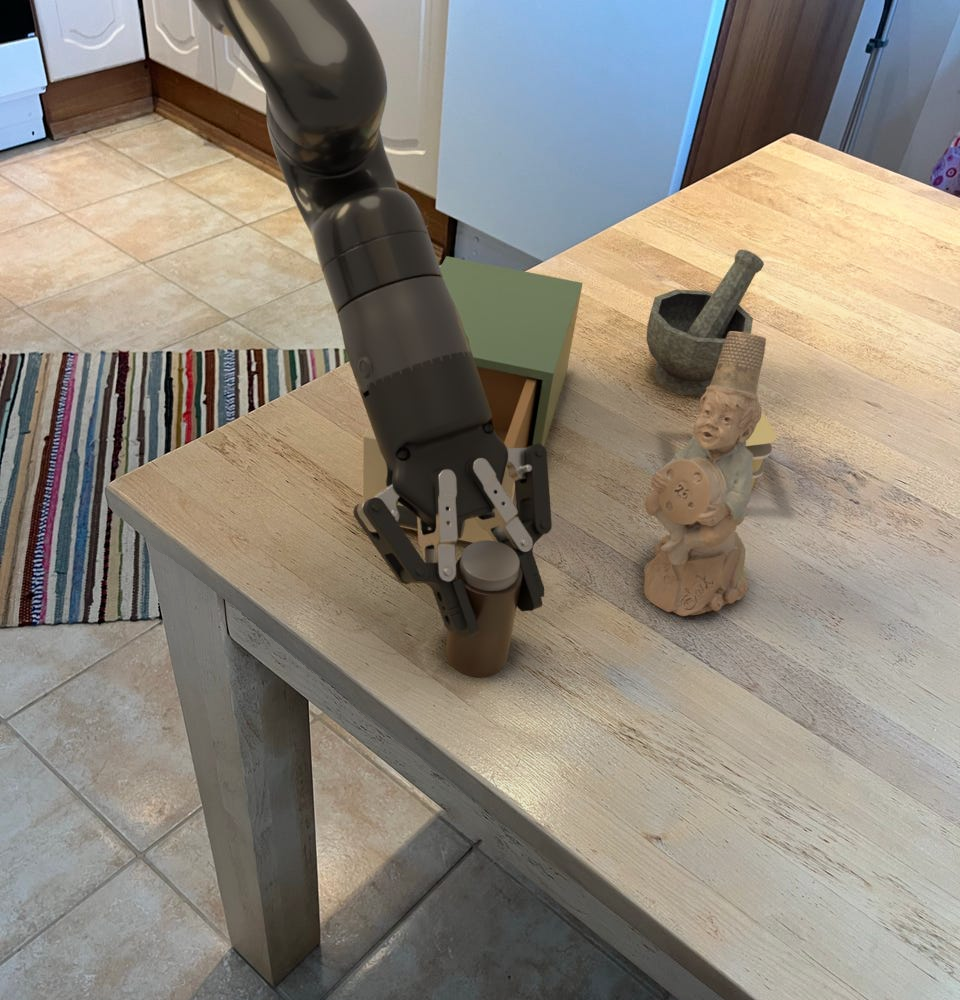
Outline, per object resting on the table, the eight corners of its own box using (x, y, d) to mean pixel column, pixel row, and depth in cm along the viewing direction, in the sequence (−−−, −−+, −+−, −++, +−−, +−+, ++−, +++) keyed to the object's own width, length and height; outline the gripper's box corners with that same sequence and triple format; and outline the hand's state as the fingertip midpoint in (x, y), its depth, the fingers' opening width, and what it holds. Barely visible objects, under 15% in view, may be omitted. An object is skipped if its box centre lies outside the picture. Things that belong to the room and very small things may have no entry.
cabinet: (537, 470, 84) (553, 373, 77) (395, 440, 85) (399, 341, 78) (565, 376, 95) (582, 282, 88) (439, 350, 96) (446, 255, 89)
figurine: (676, 532, 80) (747, 307, 66) (762, 587, 77) (857, 362, 62) (608, 581, 76) (668, 350, 61) (697, 642, 72) (783, 412, 57)
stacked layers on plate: (662, 438, 89) (677, 386, 85) (758, 444, 90) (777, 393, 86) (680, 509, 82) (697, 456, 78) (783, 515, 83) (805, 463, 79)
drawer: (490, 592, 72) (502, 511, 67) (342, 559, 73) (341, 476, 68) (537, 443, 85) (550, 364, 80) (411, 416, 86) (414, 336, 81)
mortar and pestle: (685, 418, 92) (720, 299, 83) (615, 370, 96) (641, 253, 87) (761, 383, 97) (801, 268, 88) (691, 340, 102) (723, 226, 93)
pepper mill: (438, 669, 68) (448, 574, 61) (453, 625, 71) (464, 530, 64) (500, 683, 67) (517, 590, 61) (513, 638, 70) (530, 545, 64)
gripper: (481, 358, 68) (557, 590, 71) (294, 409, 62) (384, 661, 65) (535, 325, 62) (617, 583, 64) (331, 379, 55) (430, 661, 58)
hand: (499, 621), depth 64 cm, fingers closed on pepper mill, 4 cm apart
